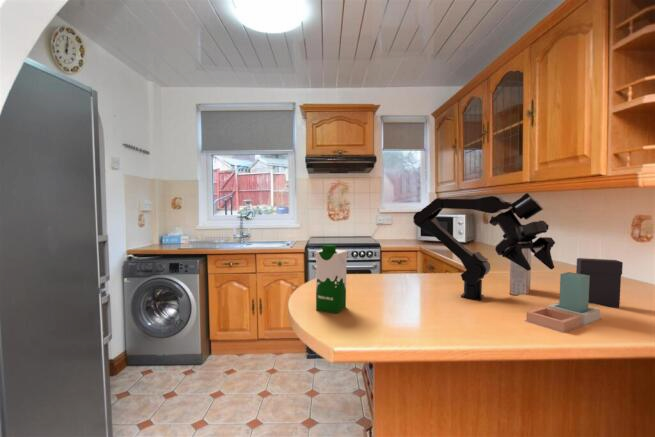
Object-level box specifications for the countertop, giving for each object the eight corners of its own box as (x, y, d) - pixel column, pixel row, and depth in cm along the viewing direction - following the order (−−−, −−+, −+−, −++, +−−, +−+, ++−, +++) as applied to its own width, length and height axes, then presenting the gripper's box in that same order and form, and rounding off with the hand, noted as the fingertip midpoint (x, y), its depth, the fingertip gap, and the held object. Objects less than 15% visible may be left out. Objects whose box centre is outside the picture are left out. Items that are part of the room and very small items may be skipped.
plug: (558, 315, 93) (560, 273, 92) (567, 312, 95) (569, 272, 95) (579, 320, 89) (581, 277, 88) (587, 317, 91) (589, 275, 91)
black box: (613, 304, 107) (615, 259, 106) (620, 308, 103) (623, 261, 102) (573, 301, 110) (575, 257, 109) (579, 304, 106) (581, 259, 105)
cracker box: (512, 286, 129) (514, 234, 128) (530, 289, 125) (532, 235, 124) (508, 294, 118) (509, 237, 117) (527, 297, 114) (529, 238, 113)
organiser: (523, 324, 88) (524, 311, 88) (562, 312, 99) (563, 300, 99) (563, 337, 80) (564, 323, 80) (601, 322, 90) (602, 309, 90)
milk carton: (312, 310, 98) (312, 245, 97) (324, 302, 106) (325, 242, 105) (338, 315, 94) (339, 247, 94) (349, 306, 103) (350, 243, 102)
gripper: (505, 210, 96) (537, 254, 86) (551, 211, 102) (586, 252, 92) (483, 233, 104) (510, 276, 94) (527, 233, 110) (556, 273, 100)
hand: (541, 269), depth 95 cm, fingers open, 9 cm apart
